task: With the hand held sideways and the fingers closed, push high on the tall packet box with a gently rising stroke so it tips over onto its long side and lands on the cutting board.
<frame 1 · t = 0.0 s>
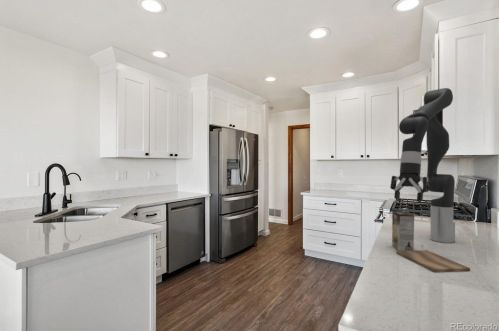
hand: (407, 200, 111), 22 cm above the countertop, tool pointing down, fingers open, 8 cm apart
coffee box: (402, 249, 118), on the countertop
cutting board: (429, 261, 102), on the countertop
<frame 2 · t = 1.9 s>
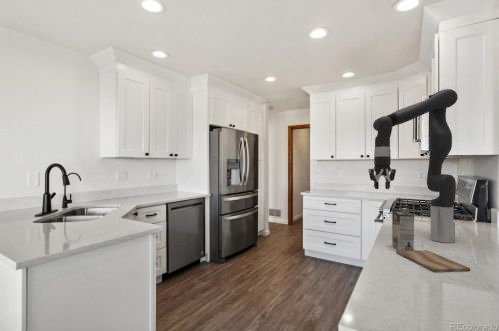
hand: (382, 188, 135), 25 cm above the countertop, tool pointing down, fingers open, 5 cm apart
nothing on the countertop moved.
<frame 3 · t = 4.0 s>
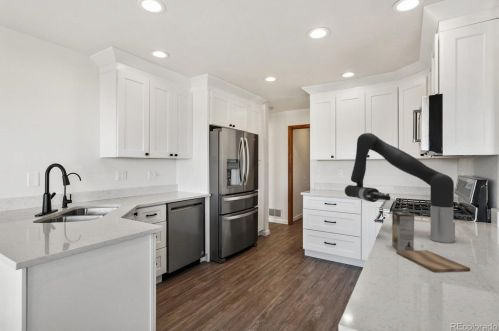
hand: (388, 198, 128), 21 cm above the countertop, tool horizontal, fingers closed
nothing on the countertop moved.
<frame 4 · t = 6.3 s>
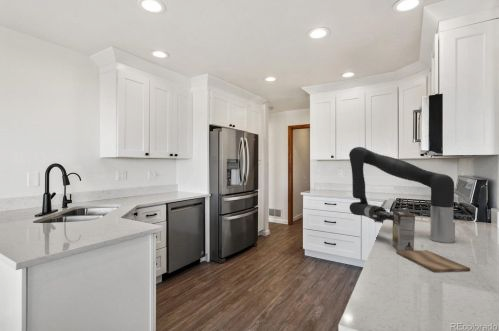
hand: (396, 219, 122), 13 cm above the countertop, tool horizontal, fingers closed
nothing on the countertop moved.
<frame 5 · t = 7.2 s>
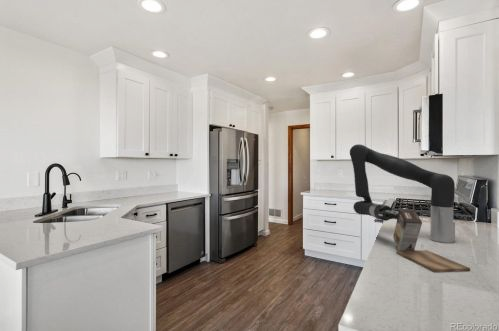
hand: (403, 218, 117), 14 cm above the countertop, tool horizontal, fingers closed
coffee box: (403, 245, 117), point 2 cm above the countertop, touching gripper
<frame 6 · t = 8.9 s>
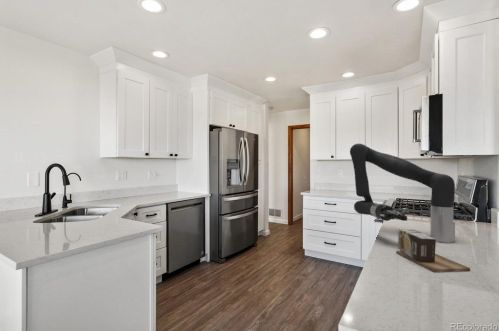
hand: (405, 218, 116), 14 cm above the countertop, tool horizontal, fingers closed
coffee box: (405, 238, 114), point 5 cm above the countertop, touching cutting board
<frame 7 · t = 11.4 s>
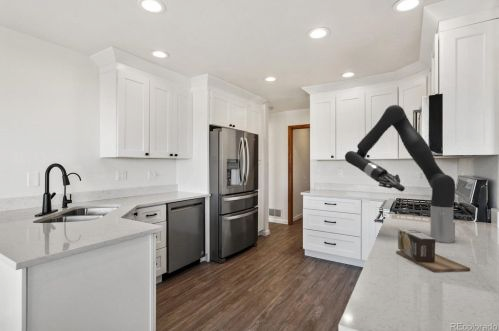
hand: (403, 189, 128), 26 cm above the countertop, tool tilted 60°, fingers closed
nothing on the countertop moved.
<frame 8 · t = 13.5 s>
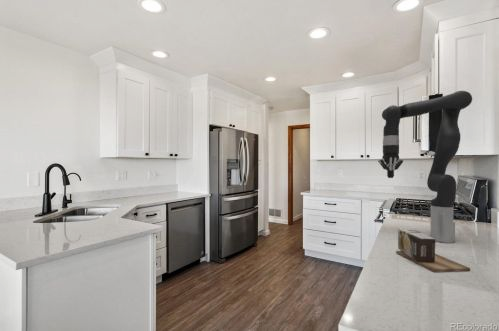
hand: (390, 177, 137), 31 cm above the countertop, tool pointing down, fingers closed
nothing on the countertop moved.
at the end: coffee box tilted 89°; coffee box touching cutting board; coffee box inside the target area (4.0 cm from its centre), point 5.4 cm above the countertop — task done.
